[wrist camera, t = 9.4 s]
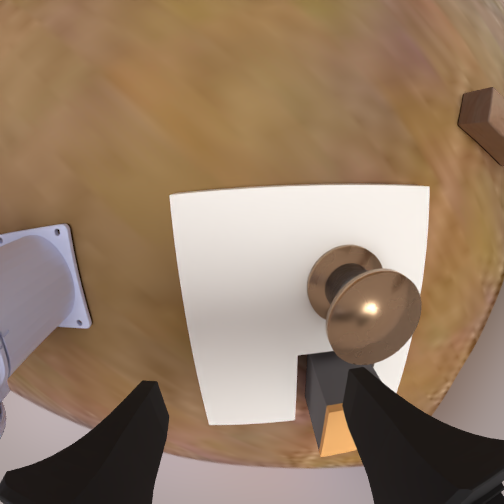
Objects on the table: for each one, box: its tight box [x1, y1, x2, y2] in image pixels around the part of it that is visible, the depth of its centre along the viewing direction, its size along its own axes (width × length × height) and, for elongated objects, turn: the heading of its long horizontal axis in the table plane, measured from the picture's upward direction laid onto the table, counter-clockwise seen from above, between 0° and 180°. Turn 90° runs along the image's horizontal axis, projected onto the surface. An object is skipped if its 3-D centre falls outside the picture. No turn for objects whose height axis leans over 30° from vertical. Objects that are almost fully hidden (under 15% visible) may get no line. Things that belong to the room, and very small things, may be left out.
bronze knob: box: [307, 244, 421, 365], centre depth 15 cm, size 5×5×5 cm
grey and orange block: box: [305, 351, 382, 457], centre depth 18 cm, size 4×5×7 cm
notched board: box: [170, 184, 429, 425], centre depth 19 cm, size 16×18×2 cm
